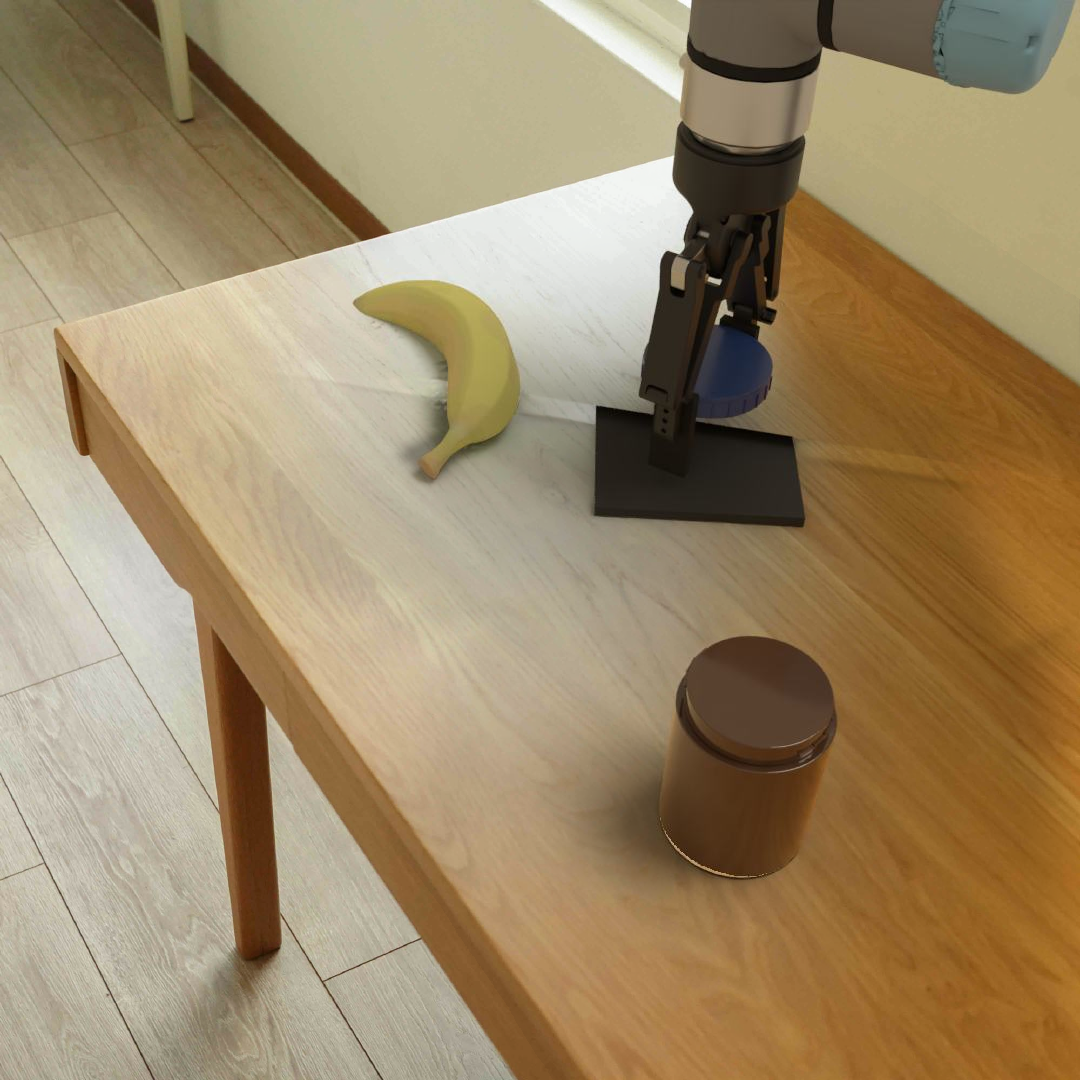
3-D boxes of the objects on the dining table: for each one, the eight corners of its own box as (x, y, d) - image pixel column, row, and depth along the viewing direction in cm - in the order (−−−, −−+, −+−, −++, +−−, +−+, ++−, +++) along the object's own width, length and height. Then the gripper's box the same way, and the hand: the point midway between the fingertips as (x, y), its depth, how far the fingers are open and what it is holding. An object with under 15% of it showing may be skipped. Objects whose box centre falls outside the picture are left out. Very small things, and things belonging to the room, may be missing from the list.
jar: (811, 771, 75) (847, 645, 68) (801, 893, 69) (838, 769, 62) (669, 744, 76) (689, 617, 69) (647, 862, 70) (667, 736, 63)
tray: (784, 399, 100) (785, 391, 100) (803, 526, 90) (805, 518, 89) (596, 390, 100) (596, 381, 100) (594, 515, 90) (595, 507, 90)
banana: (515, 244, 101) (498, 435, 88) (533, 300, 105) (518, 491, 92) (344, 272, 104) (302, 462, 91) (367, 326, 108) (331, 515, 95)
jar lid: (622, 399, 89) (624, 378, 88) (664, 331, 95) (666, 311, 94) (750, 433, 87) (753, 412, 85) (784, 361, 93) (788, 340, 91)
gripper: (760, 48, 86) (718, 342, 102) (594, 181, 73) (574, 497, 88) (870, 77, 84) (809, 374, 99) (719, 222, 70) (676, 540, 86)
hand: (699, 432), depth 94 cm, fingers closed on jar lid, 9 cm apart
